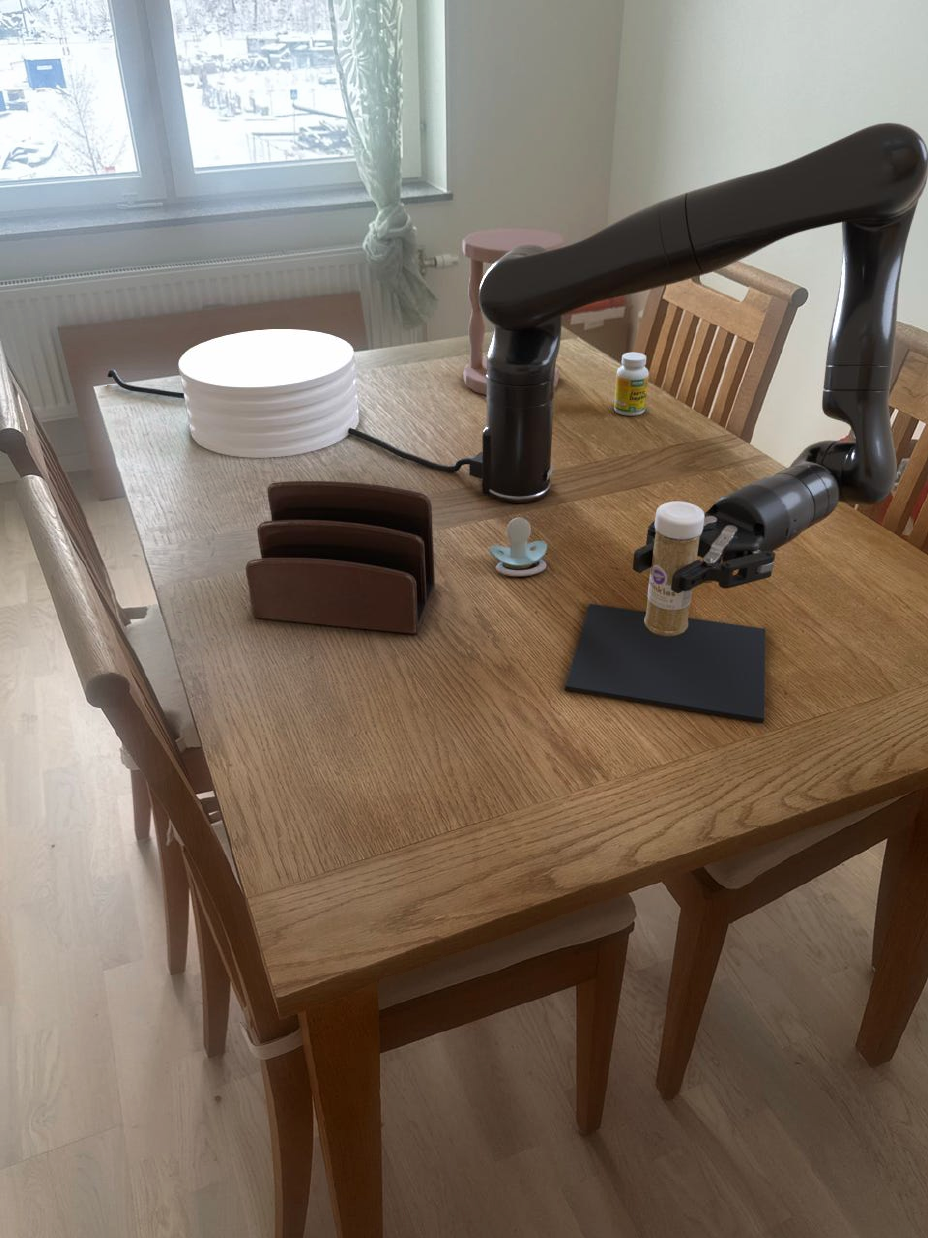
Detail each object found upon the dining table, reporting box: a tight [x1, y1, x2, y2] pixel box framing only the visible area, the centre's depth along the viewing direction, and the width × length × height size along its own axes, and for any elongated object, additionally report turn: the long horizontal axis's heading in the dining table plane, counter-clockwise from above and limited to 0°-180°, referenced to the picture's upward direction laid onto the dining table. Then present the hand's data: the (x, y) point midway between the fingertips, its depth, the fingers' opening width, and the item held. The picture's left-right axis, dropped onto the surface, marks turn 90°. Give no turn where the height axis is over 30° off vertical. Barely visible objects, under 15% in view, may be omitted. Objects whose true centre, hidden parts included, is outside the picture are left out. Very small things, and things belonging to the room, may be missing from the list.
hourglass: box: [462, 227, 567, 396], centre depth 163 cm, size 18×18×25 cm
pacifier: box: [488, 517, 548, 577], centre depth 115 cm, size 7×6×6 cm
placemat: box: [564, 603, 766, 724], centre depth 100 cm, size 20×16×1 cm
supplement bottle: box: [613, 351, 650, 417], centre depth 156 cm, size 5×5×10 cm
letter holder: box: [245, 480, 436, 635], centre depth 106 cm, size 10×20×14 cm, turn 79°
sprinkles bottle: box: [644, 500, 705, 636], centre depth 91 cm, size 5×5×13 cm
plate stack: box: [177, 328, 360, 459], centre depth 152 cm, size 28×28×12 cm
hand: (655, 573), depth 90 cm, fingers closed on sprinkles bottle, 4 cm apart
